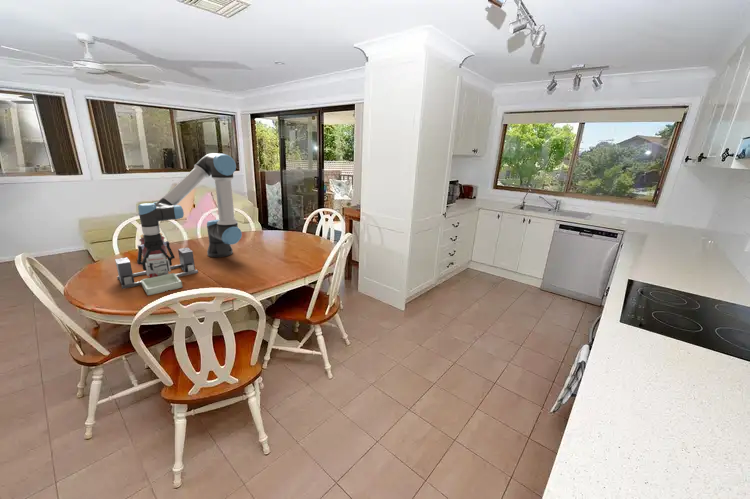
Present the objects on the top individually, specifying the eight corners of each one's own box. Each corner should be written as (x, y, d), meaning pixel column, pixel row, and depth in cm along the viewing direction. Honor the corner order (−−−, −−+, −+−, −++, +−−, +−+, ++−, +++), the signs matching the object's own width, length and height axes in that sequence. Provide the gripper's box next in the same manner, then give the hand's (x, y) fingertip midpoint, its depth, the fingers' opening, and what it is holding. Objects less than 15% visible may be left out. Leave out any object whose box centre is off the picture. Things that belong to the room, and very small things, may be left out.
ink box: (149, 278, 164) (145, 258, 160) (149, 275, 168) (146, 255, 164) (168, 276, 169) (165, 255, 165) (168, 273, 173) (165, 253, 169)
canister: (144, 261, 187) (138, 233, 182) (141, 255, 196) (136, 228, 191) (169, 257, 195) (164, 230, 190) (165, 252, 204) (161, 226, 199)
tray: (174, 278, 166) (174, 272, 165) (182, 287, 156) (181, 281, 155) (141, 285, 156) (140, 279, 155) (147, 295, 146) (146, 289, 146)
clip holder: (190, 265, 185) (187, 246, 181) (198, 272, 175) (195, 252, 171) (117, 279, 162) (112, 257, 158) (122, 288, 152) (117, 266, 148)
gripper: (173, 229, 171) (179, 266, 178) (124, 235, 156) (132, 276, 163) (177, 231, 166) (183, 270, 173) (126, 238, 151) (135, 280, 158)
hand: (159, 273), depth 168 cm, fingers closed on ink box, 9 cm apart
